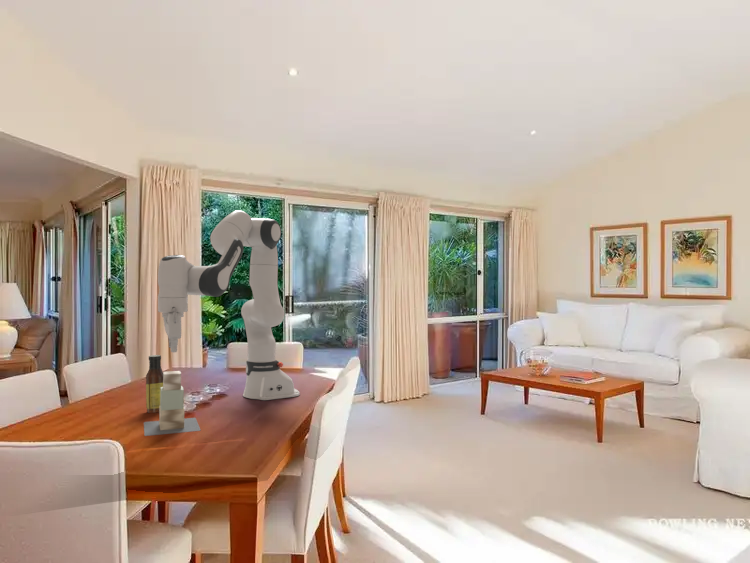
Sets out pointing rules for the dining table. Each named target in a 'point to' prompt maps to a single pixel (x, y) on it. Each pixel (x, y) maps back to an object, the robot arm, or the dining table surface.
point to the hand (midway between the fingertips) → (172, 350)
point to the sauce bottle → (154, 384)
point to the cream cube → (172, 380)
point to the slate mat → (154, 429)
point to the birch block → (171, 419)
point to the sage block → (172, 399)
